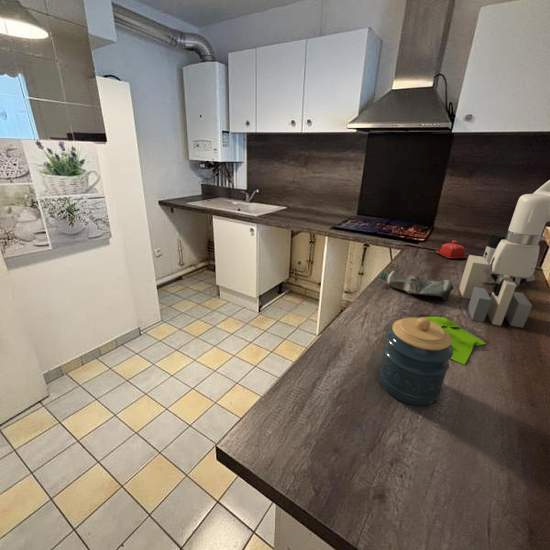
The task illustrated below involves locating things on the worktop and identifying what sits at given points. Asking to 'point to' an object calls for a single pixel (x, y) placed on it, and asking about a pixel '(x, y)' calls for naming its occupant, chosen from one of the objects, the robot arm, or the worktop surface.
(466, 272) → the beige rectangular block
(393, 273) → the crushed plastic bottle
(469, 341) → the cloth
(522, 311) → the pair of grey pillars
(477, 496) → the worktop surface
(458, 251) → the butter dish
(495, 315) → the cream book
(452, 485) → the worktop surface
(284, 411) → the worktop surface
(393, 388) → the canister
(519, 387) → the worktop surface
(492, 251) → the spray can
